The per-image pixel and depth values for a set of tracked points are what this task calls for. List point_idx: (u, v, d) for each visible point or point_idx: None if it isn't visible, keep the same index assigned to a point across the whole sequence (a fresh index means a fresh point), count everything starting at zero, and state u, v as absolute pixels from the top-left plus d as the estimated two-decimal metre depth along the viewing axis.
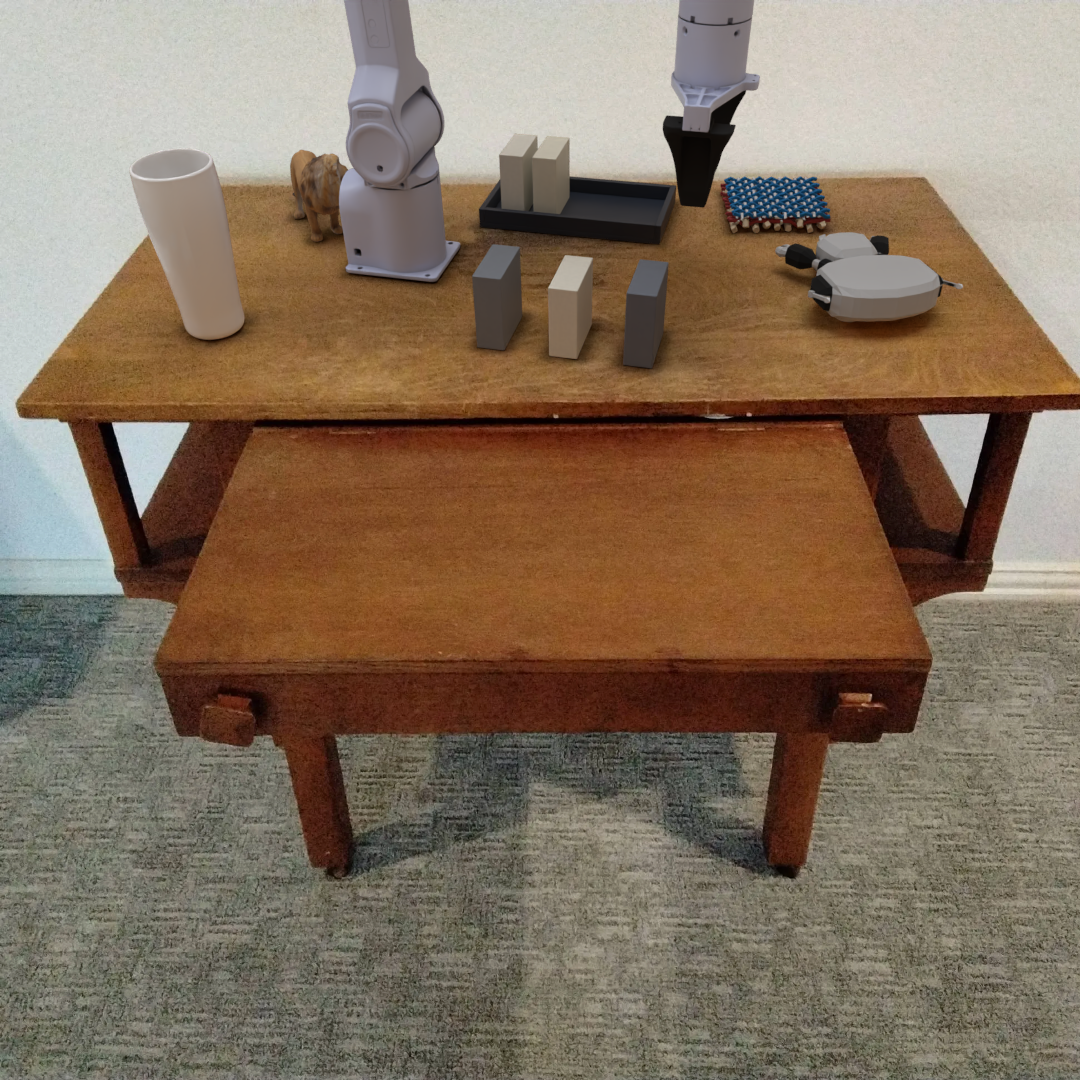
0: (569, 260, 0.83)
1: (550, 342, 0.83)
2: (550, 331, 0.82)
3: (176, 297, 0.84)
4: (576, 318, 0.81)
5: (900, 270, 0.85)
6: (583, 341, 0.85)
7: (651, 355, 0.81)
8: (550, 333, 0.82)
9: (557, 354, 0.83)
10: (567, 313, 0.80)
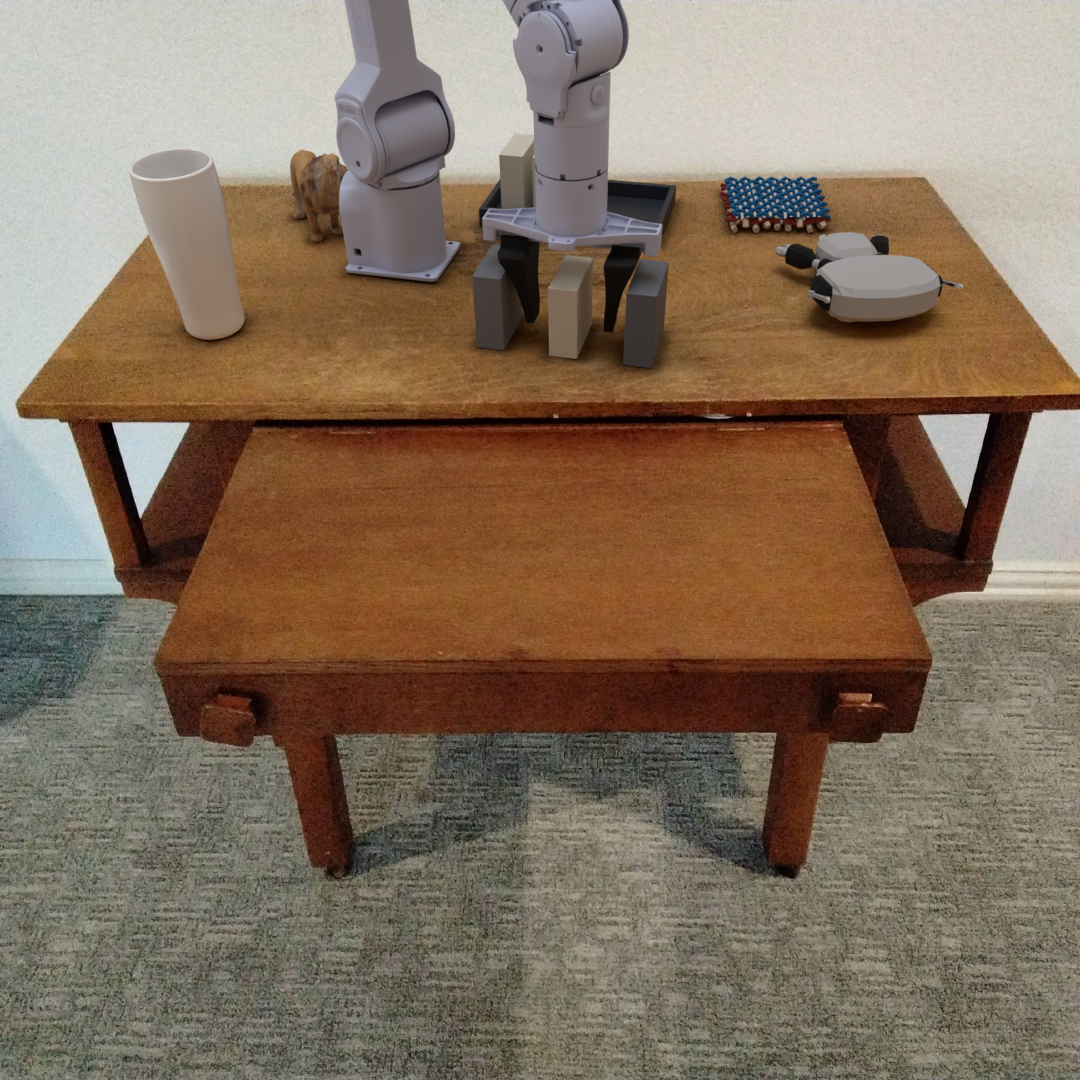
0: (569, 260, 0.83)
1: (550, 342, 0.83)
2: (550, 331, 0.82)
3: (176, 297, 0.84)
4: (576, 318, 0.81)
5: (900, 270, 0.85)
6: (583, 341, 0.85)
7: (651, 355, 0.81)
8: (550, 333, 0.82)
9: (557, 354, 0.83)
10: (567, 313, 0.80)
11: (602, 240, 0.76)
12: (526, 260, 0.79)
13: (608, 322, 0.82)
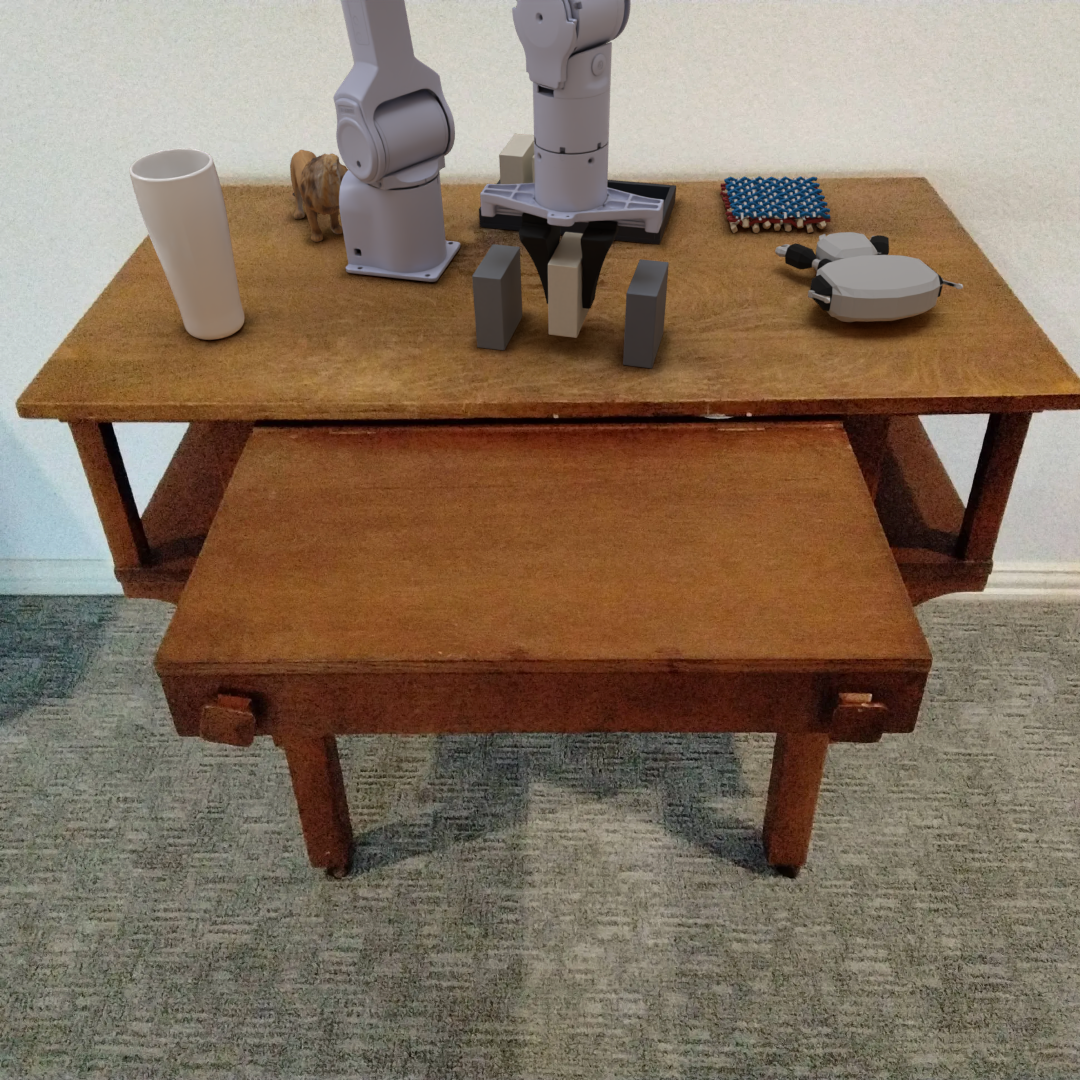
0: (569, 236, 0.81)
1: (550, 320, 0.81)
2: (550, 309, 0.81)
3: (176, 297, 0.84)
4: (576, 295, 0.79)
5: (900, 270, 0.85)
6: (583, 320, 0.83)
7: (651, 355, 0.81)
8: (549, 311, 0.81)
9: (557, 332, 0.82)
10: (567, 290, 0.79)
11: (602, 216, 0.75)
12: (548, 239, 0.78)
13: (586, 298, 0.81)
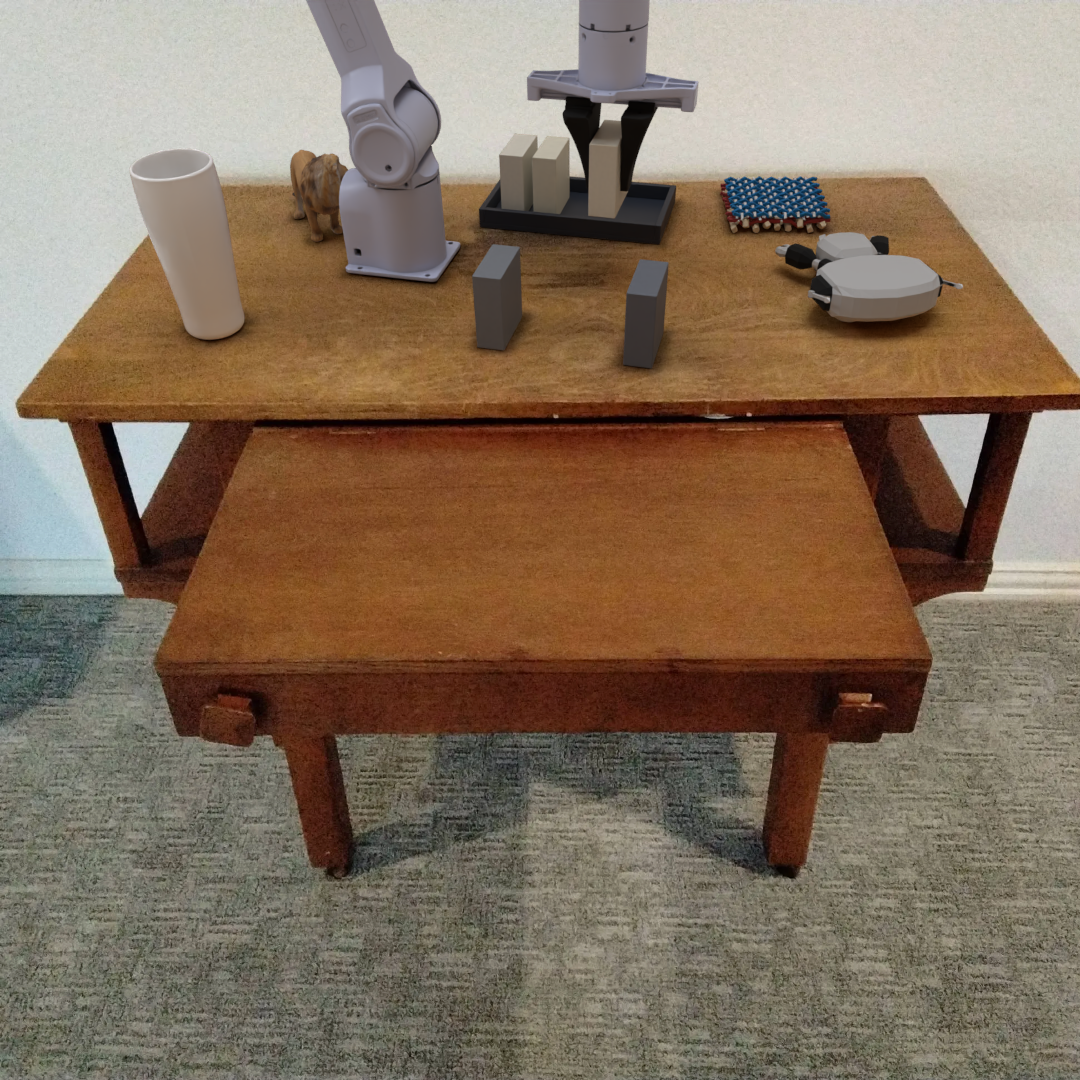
0: (608, 123, 0.87)
1: (589, 201, 0.87)
2: (590, 189, 0.86)
3: (176, 297, 0.84)
4: (615, 175, 0.85)
5: (900, 270, 0.85)
6: (620, 204, 0.89)
7: (651, 355, 0.81)
8: (590, 192, 0.86)
9: (596, 213, 0.88)
10: (607, 170, 0.85)
11: (642, 94, 0.81)
12: (590, 120, 0.83)
13: (624, 180, 0.87)
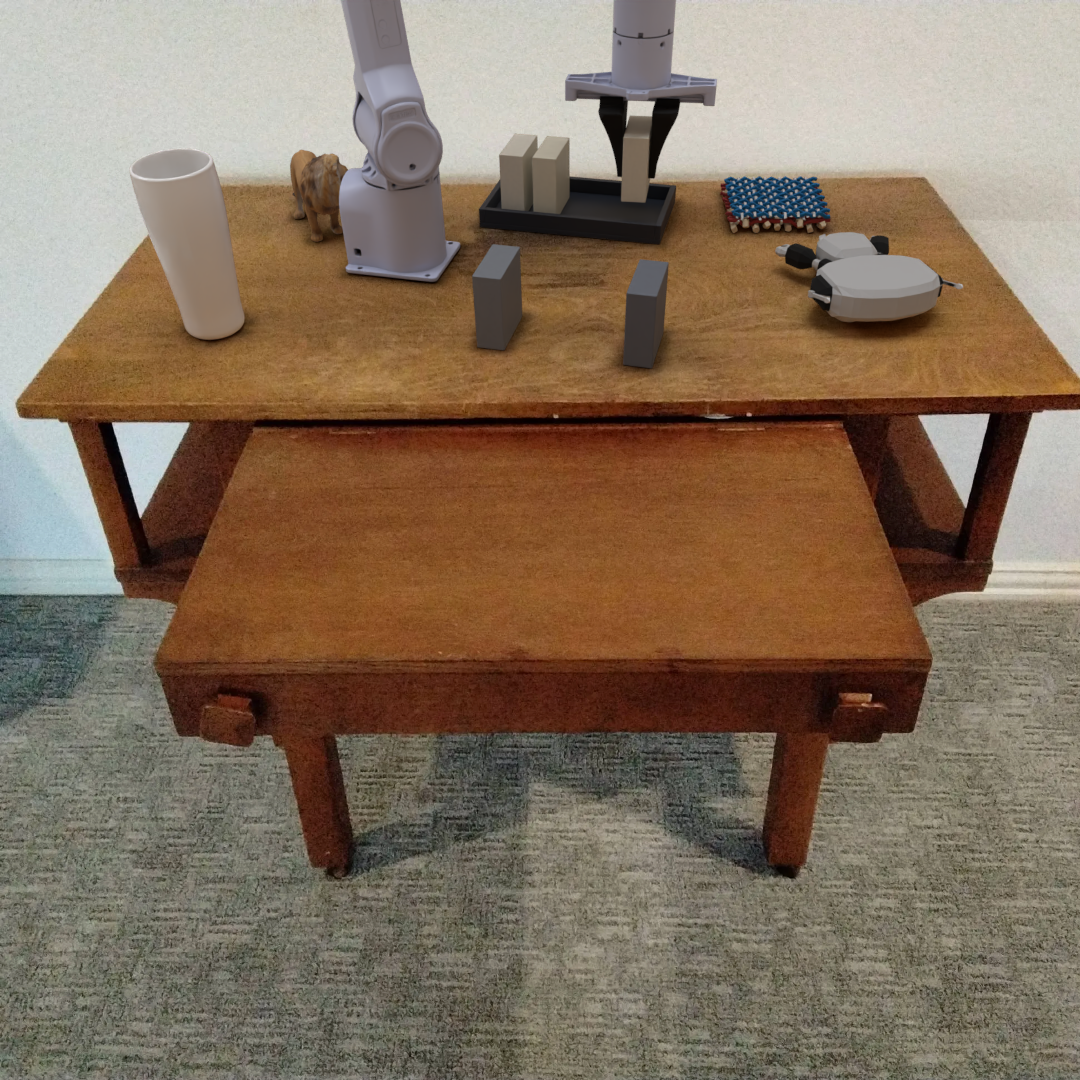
0: (634, 118, 0.98)
1: (623, 188, 0.98)
2: (623, 178, 0.97)
3: (176, 297, 0.84)
4: (646, 164, 0.96)
5: (900, 270, 0.85)
6: (647, 189, 1.00)
7: (651, 355, 0.81)
8: (623, 180, 0.97)
9: (628, 199, 0.99)
10: (639, 160, 0.96)
11: (670, 92, 0.92)
12: (623, 116, 0.94)
13: (652, 168, 0.98)
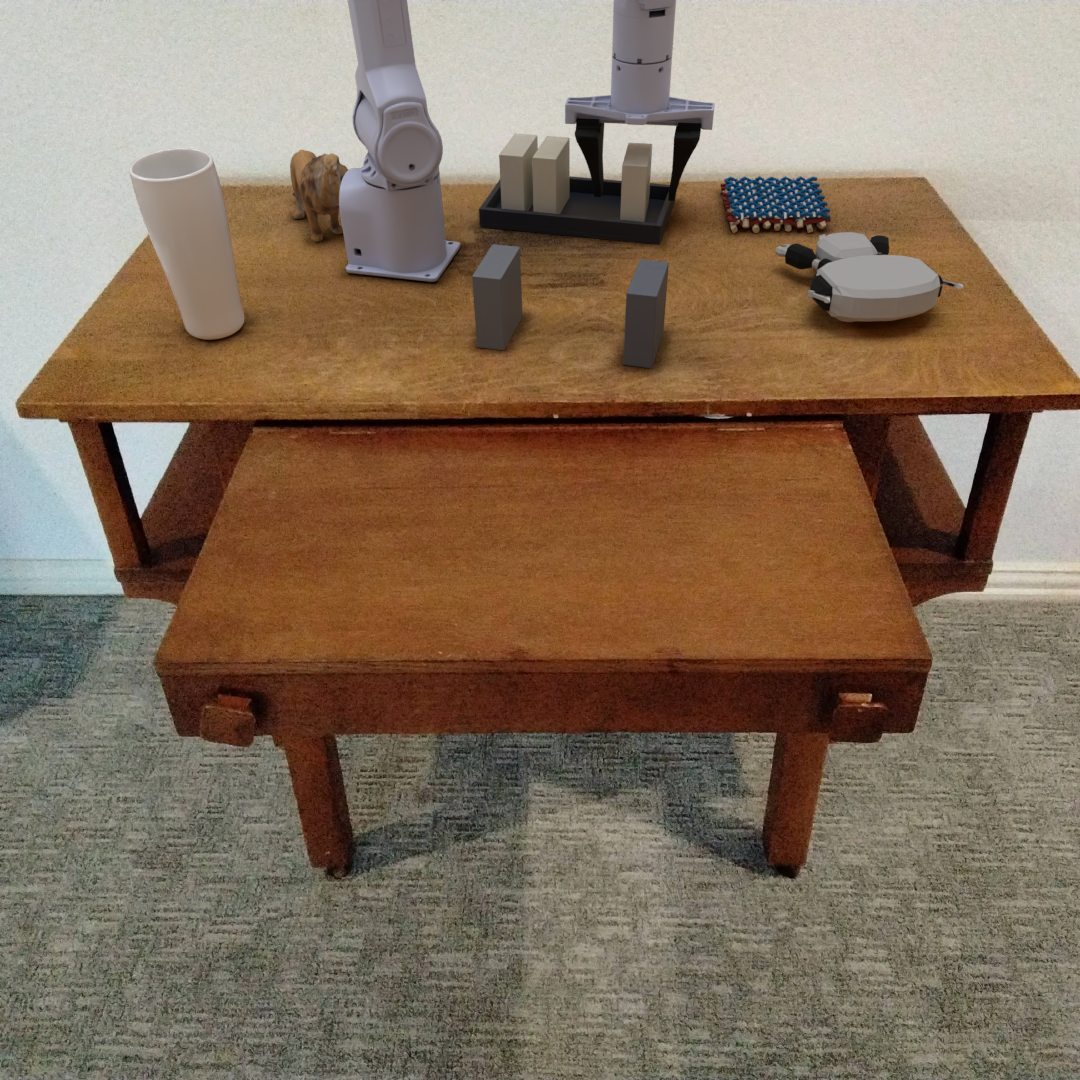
0: (633, 145, 1.00)
1: (621, 214, 1.00)
2: (622, 204, 0.99)
3: (176, 297, 0.84)
4: (645, 191, 0.98)
5: (900, 270, 0.85)
6: None
7: (651, 355, 0.81)
8: (622, 206, 0.99)
9: None
10: (637, 187, 0.98)
11: (668, 116, 0.93)
12: (599, 138, 0.96)
13: (673, 191, 0.99)
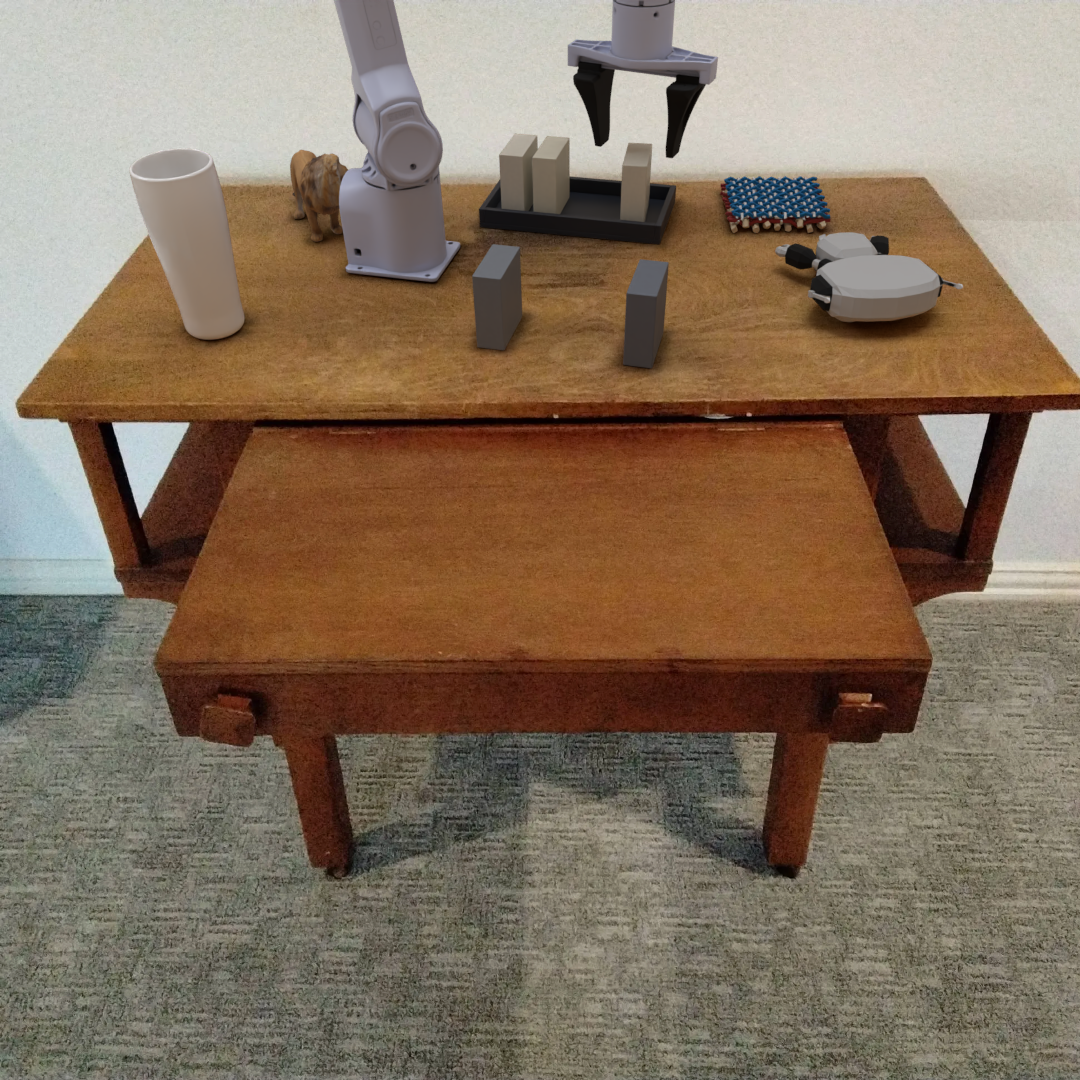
0: (633, 145, 1.00)
1: (621, 214, 1.00)
2: (622, 204, 0.99)
3: (176, 297, 0.84)
4: (645, 191, 0.98)
5: (900, 270, 0.85)
6: None
7: (651, 355, 0.81)
8: (622, 206, 0.99)
9: None
10: (637, 187, 0.98)
11: None
12: None
13: None
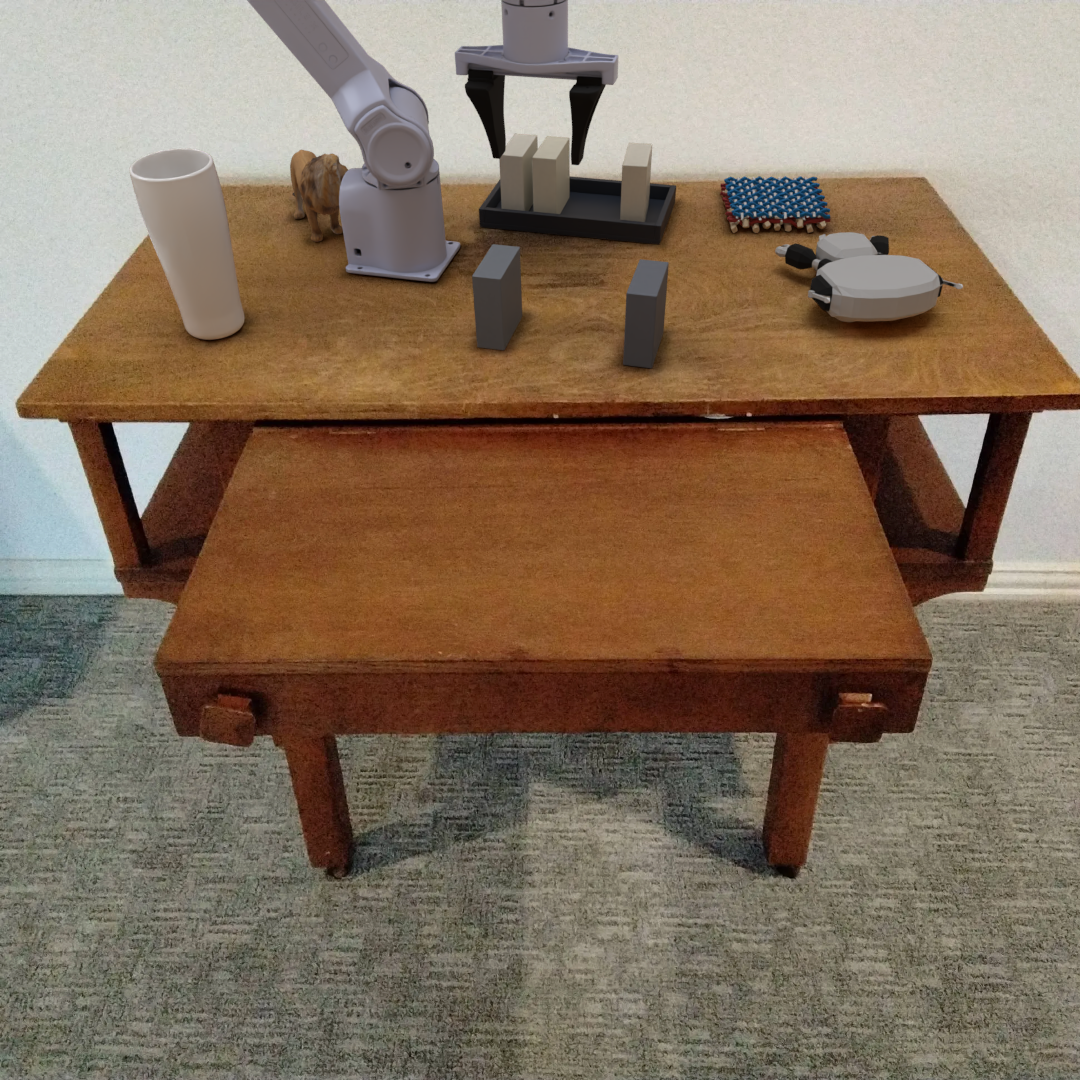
0: (633, 145, 1.00)
1: (621, 214, 1.00)
2: (622, 204, 0.99)
3: (176, 297, 0.84)
4: (645, 191, 0.98)
5: (900, 270, 0.85)
6: None
7: (651, 355, 0.81)
8: (622, 206, 0.99)
9: None
10: (637, 187, 0.98)
11: None
12: None
13: None
